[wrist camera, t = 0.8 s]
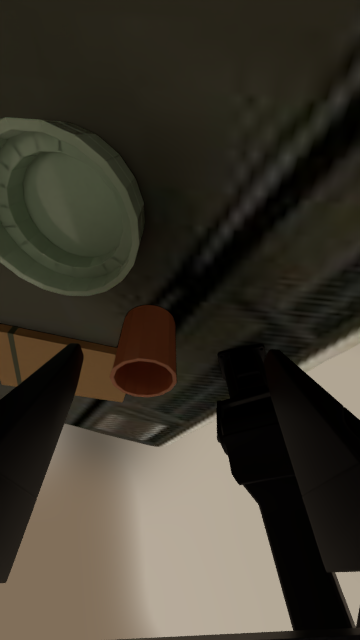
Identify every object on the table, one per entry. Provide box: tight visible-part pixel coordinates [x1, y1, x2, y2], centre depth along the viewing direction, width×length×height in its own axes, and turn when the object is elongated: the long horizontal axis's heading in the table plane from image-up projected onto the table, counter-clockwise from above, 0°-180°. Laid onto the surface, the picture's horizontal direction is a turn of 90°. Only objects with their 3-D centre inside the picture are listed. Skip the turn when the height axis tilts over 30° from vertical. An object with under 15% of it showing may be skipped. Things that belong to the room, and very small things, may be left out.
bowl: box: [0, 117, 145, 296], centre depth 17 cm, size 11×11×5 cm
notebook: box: [0, 324, 126, 402], centre depth 32 cm, size 12×18×1 cm
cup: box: [110, 305, 177, 397], centre depth 24 cm, size 6×6×8 cm
